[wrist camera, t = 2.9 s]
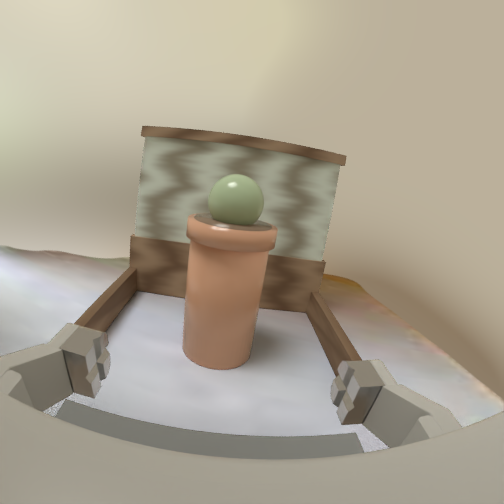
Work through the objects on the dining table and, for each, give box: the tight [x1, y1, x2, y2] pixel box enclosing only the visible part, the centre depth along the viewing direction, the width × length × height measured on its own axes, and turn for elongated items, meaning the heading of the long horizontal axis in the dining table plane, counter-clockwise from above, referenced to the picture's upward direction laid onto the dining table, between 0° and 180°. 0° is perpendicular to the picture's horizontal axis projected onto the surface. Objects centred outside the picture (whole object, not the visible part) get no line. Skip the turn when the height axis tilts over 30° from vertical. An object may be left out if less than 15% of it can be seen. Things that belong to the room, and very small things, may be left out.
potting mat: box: [55, 399, 364, 460], centre depth 11 cm, size 20×10×1 cm, turn 93°
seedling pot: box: [183, 174, 278, 370], centre depth 24 cm, size 7×7×16 cm
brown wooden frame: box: [74, 126, 362, 377], centre depth 25 cm, size 24×18×20 cm
